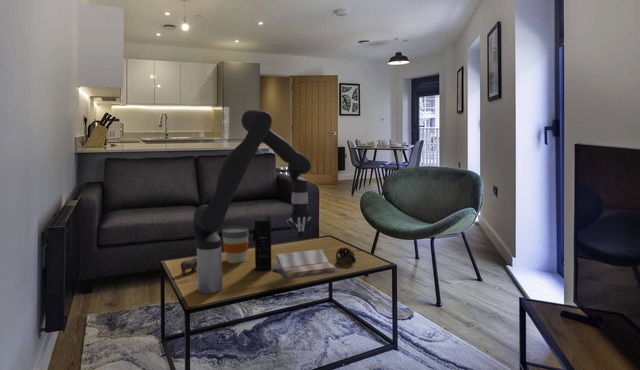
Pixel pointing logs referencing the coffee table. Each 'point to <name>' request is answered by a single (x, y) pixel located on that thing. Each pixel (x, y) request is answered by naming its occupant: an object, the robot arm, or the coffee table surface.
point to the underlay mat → (278, 269)
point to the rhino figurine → (189, 265)
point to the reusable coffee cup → (235, 243)
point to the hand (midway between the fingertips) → (300, 238)
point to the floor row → (308, 269)
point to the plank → (301, 258)
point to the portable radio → (262, 244)
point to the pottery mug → (344, 255)
